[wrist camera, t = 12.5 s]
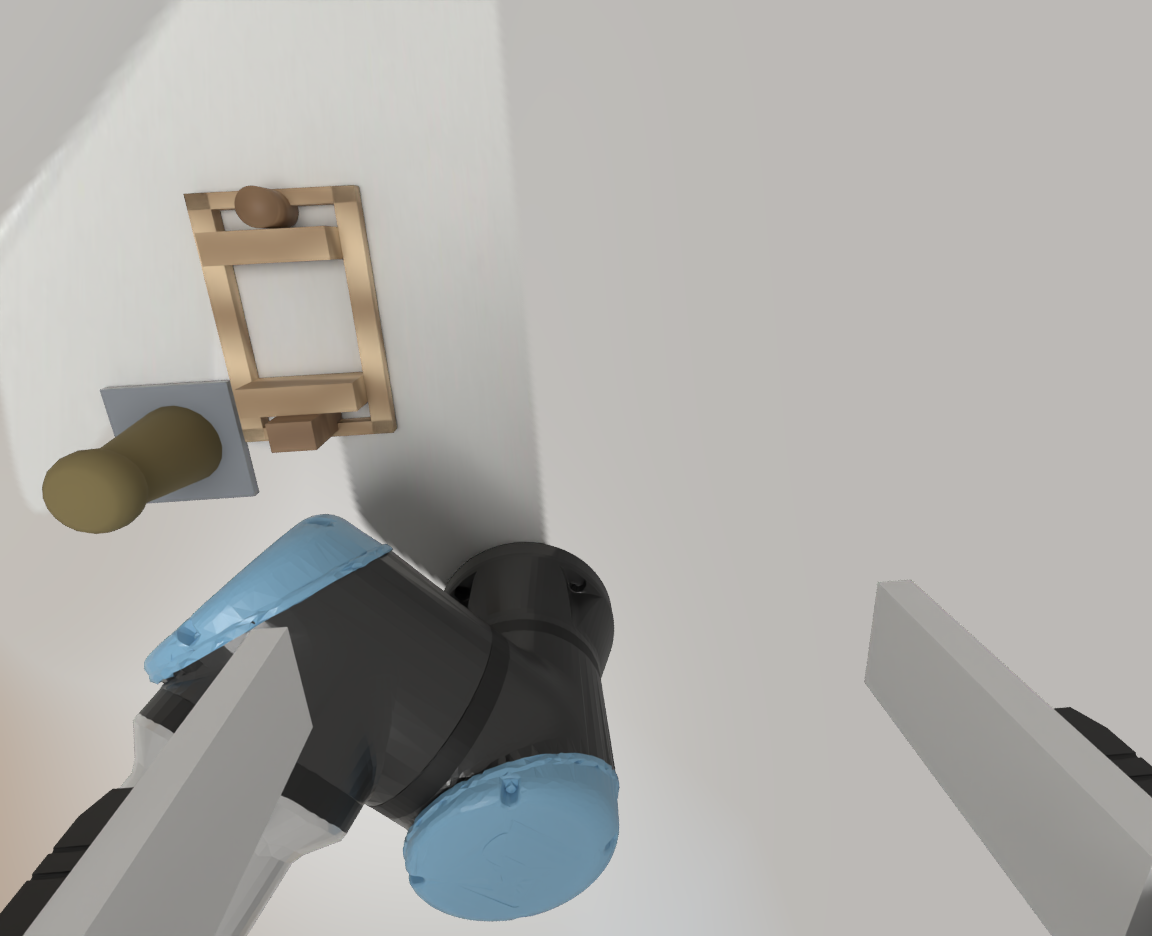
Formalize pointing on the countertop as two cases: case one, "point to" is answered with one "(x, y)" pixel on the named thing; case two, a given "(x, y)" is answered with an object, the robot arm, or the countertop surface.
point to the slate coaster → (213, 406)
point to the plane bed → (295, 400)
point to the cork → (132, 470)
